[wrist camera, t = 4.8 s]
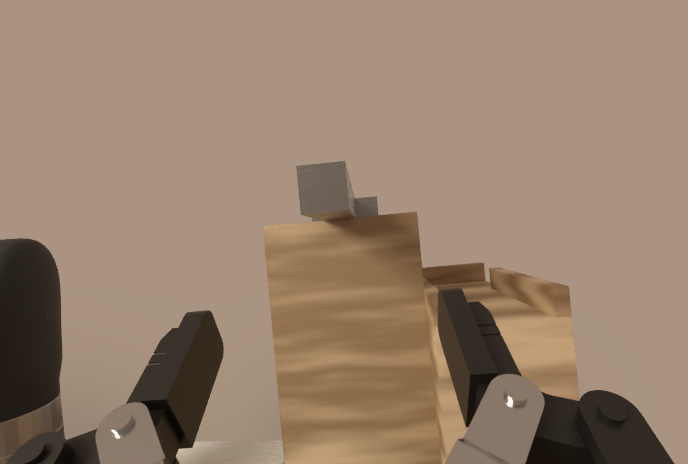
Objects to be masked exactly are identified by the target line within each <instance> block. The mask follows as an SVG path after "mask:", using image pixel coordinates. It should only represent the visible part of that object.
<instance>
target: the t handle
mask: <svg viewBox="0 0 688 464" xmlns="http://www.w3.org/2000/svg"><path fill="white" fill-rule="evenodd" d="M297 177H298V188H299V199H300V210H301V215H304V216H308V217H312V222H314V221H325V220H336V219H346V218H357V217H367V216H378V207H377V197H366V198H356V199H355V197H354V193H353V190H352V186H351V182H350V179H349V174H348V171H347V167H346V163H345V161H341V162H331V163H322V164H312V165H302V166H297Z"/></svg>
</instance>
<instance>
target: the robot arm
mask: <svg viewBox="0 0 688 464" xmlns="http://www.w3.org/2000/svg"><path fill="white" fill-rule="evenodd" d="M438 332H439V338H440V342H441V345H442V349H443V352H444V355H445V359H446V362H447V365H448V369H449V372H450V376H451V379H452V382H453V386H454V389H455V393H456V396H457V399H458V403H459V406H460V410H461V413H462V416H463V420H464V423H465V426H466V427H468V430H467V432H466V434H465V436H464V437H463V438H462V439H460V438H459V439H458V440H457V441H456V443H455V444H454V446H453V448H452V450H451V452H450V454H449V456H448V458H447V460H446V462H445V464H674V463H673V461H672V460H671V458H670V457H669V455H668V454H667V452H666V451H665V449H664V447H663V446H662V445H661V443H660V441H659V440H658V438H657V437H656V435H655V434H654V432H653V431H652V429H651V428H650V426H649V425H648V423H647V422H646V420H645V419H644V417H643V416H642V414H641V413H640V412H639V410H638V409H637V408H636V407H635V406H634V405H633V404H632V403H630V402H629V401H628V400H626V399H625V398H623V397H621V396H619V395H617V394H614V393H612V392H608V391H603V390H594V391H589V392H587V393H585V394H584V395H583V396H582V397H581V399H580V401H577V400H572V399H567V398H563V397H558V396H553V395H549V394H546V393H544V392H541V391H540V389H539V388H538V387H537V386H536V385H535V384H534V383H533V382H531V381H530V380H528V379H526V378H524V377H522V375H521V373H520V372H519V370H518V367H517V365H516V363H515V361H514V359H513V357H512V355H511V353H510V351H509V349H508V347H507V345H506V343H505V341H504V339H503V337H502V336H501V333H500V331H499V328H498V326H496V322H495V320H494V318H493V316H492V314H491V312H490V311H489V310H488V309H487V308H486V307H485V306H484V305H482V304H481V303H480V302H479V301H476V302H467V299H466V297H465V295H464V292H463V290H462V289H461V288H450V289H439V291H438ZM222 358H223V342H222V338H221V336H220V333H219V331H218V328H217V325H216V323H215V320H214V317H213V315H212V313H211V312H210V311H196V312H188V313H186V315H185V316H184V318H183V320H182V322H181V324H180V326H179V328H172V329H171V330H170V331H169V332H168V333H167V334H166V335H165V337H163V338H162V339H161V341H160V342H159V344H158V346H157V348H156V350H155V352H154V355H152V357H151V359H150V361H149V364H148V366H146V368H145V370H144V372H143V374H142V376H141V377H140V379H139V381H138V383H137V385H136V387H135V388H134V390H133V392H132V394H131V396H130V398H129V399H128V401H127V403H126V404H125V405H123V406H121V407H119V408H117V409H116V410H114V411H113V412H111V413H110V414H109V415H108V416H107V417H106V418H105V419H104V420H103V421H102V422H101V424H100V425H99V427H98V429H96V430H93V431H91V432H88V433H85V434H82V435H79V436H76V437H74V438H71V439H69V440H66V439H65V437H64V426H63V417H62V407H61V396H60V384H59V376H60V370H61V363H62V336H61V294H60V281H59V274H58V269H57V266H56V263H55V260H54V258H53V256H52V254H51V253H50V251H49V250H48V249H47V248H46V247H45V246H44V245H43V244H41V243H40V242H38V241H35V240H31V239H5V240H0V464H179V461H178V460H177V458H176V454H177V452H178V449H181V448H192V447H193V444H194V441H195V438H196V435H197V432H198V429H199V426H200V423H201V420H202V417H203V414H204V412H205V408H206V406H207V403H208V400H209V397H210V393H211V391H212V388H213V385H214V382H215V379H216V376H217V373H218V370H219V367H220V364H221V361H222Z"/></svg>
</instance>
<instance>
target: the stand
mask: <svg viewBox="0 0 688 464" xmlns="http://www.w3.org/2000/svg"><path fill="white" fill-rule="evenodd" d="M263 233H264V243H265V254H266V265H267V276H268V287H269V297H270V309H271V319H272V330H273V341H274V352H275V362H276V373H277V384H278V395H279V406H280V417H281V428H282V438H283V449H284V460H285V464H445V462H446V460H447V458H448V456H449V454H450V452H451V450H452V448H453V446H454V444H455V443H456V441H457V440H458V439H459V438H460V439H462V438H463V437H464V436H465V434H466V432H467V430H468V427H466V426H465V423H464V420H463V416H462V413H461V410H460V406H459V403H458V399H457V396H456V393H455V389H454V386H453V382H452V379H451V376H450V372H449V369H448V365H447V362H446V359H445V355H444V352H443V349H442V345H441V342H440V338H439V332H438V291H439V289H450V288H461V289H462V290H463V292H464V295H465V297H466V299H467V302H476V301H479V302H480V303H481V304H482V305H484V306H485V307H486V308H487V309H488V310H489V311H490V312H491V314H492V316H493V318H494V320H495V322H496V326H498V328H499V331H500V333H501V336H502V337H503V339H504V341H505V343H506V345H507V347H508V349H509V351H510V353H511V355H512V357H513V359H514V361H515V363H516V365H517V367H518V370H519V372H520V373H521V375H522V377H524V378H526V379H528V380H530V381H531V382H533V383H534V384H535V385H536V386H537V387H538V388H539V389H540V391H541V392H544V393H546V394H549V395H553V396H558V397H563V398H567V399H572V400H577V401H579V392H578V381H577V370H576V359H575V348H574V338H573V327H572V317H571V306H570V295H569V287H568V286H565V285H562V284H558V283H555V282H551V281H547V280H543V279H540V278H536V277H532V276H528V275H525V274H521V273H517V272H514V271H510V270H506V269H503V268H490V269H489V271H490V282H491V283H489V282H486V281H485V272H484V263H472V264H461V265H449V266H437V267H426V268H422V262H421V252H420V241H419V230H418V219H417V212H410V213H399V214H388V215H378V216H367V217H357V218H346V219H336V220H325V221H314V222H304V223H294V224H283V225H272V226H263Z"/></svg>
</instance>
